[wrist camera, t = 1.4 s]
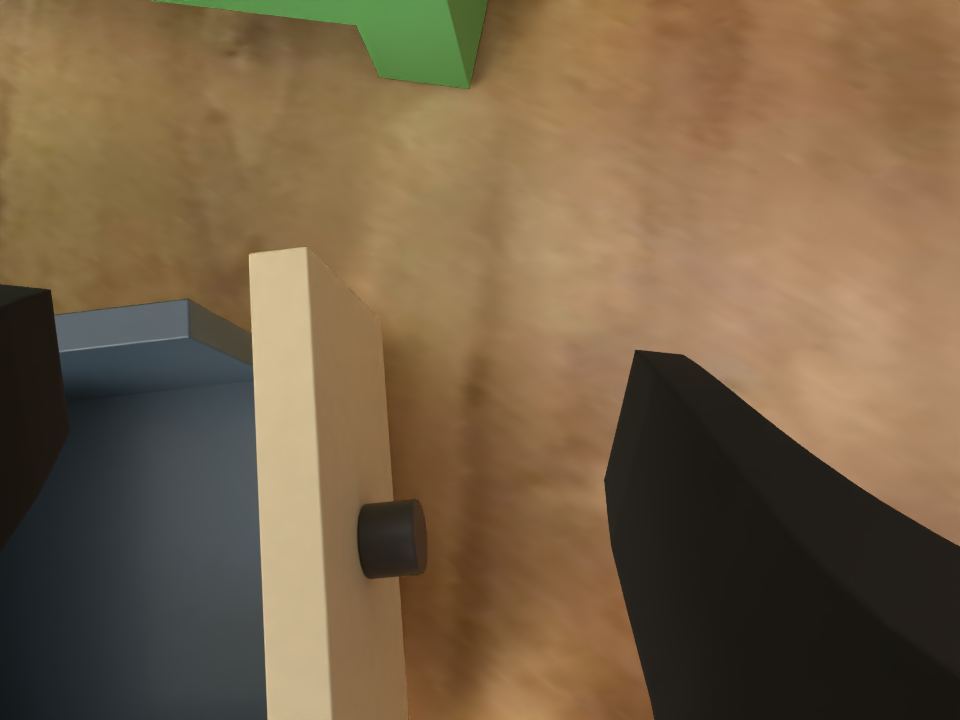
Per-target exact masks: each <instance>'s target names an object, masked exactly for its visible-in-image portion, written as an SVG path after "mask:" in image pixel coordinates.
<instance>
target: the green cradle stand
mask: <svg viewBox="0 0 960 720" xmlns="http://www.w3.org/2000/svg"><path fill="white" fill-rule="evenodd" d="M150 1H158V2H167V3H175V4H183V5H191V6H200V7H208V8H216V9H225V10H233V11H241V12H249V13H258V14H266V15H274V16H282V17H291V18H299V19H307V20H315V21H324V22H332V23H340V24H348V25H356V26H357V28H358V31H359V33H360V35H361V37H362V40H363V42H364V44H365V46H366V48H367V51H368V53H369V55H370V57H371V59H372V62H373V64H374V66H375V68H376V71H377V73H378V75H379V77H381V78H389V79H396V80H404V81H412V82H419V83H427V84H435V85H443V86H450V87H458V88H466V89H469V88H470V84H471V79H472V74H473V69H474V65H475V60H476V55H477V50H478V46H479V41H480V36H481V32H482V27H483V22H484V17H485V13H486V8H487V3H488V0H150Z"/></svg>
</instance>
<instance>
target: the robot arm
mask: <svg viewBox="0 0 960 720" xmlns="http://www.w3.org/2000/svg"><path fill="white" fill-rule="evenodd" d="M69 431H70V429H69V421H68V414H67V407H66V399H65V392H64V384H63V377H62V370H61V362H60V355H59V347H58V340H57V332H56V325H55V318H54V310H53V303H52V295H51V289H41V288H31V287H22V286H12V285H2V284H0V551H1V550H2V548H3V547H4V545H5V544H6V542H7V541H8V539H9V538H10V536H11V535H12V534H13V532H14V531H15V529H16V528H17V526H18V525H19V523H20V522H21V521H22V519H23V518H24V516H25V515H26V513H27V512H28V510H29V509H30V507H31V506H32V504H33V503H34V501H35V500H36V498H37V497H38V495H39V493H40V491H41V489H42V487H43V485H44V483H45V481H46V479H47V477H48V476H49V474H50V472H51V470H52V468H53V466H54V464H55V461H56V459H57V457H58V455H59V453H60V451H61V448H62V446H63V444H64V442H65V440H66V438H67V436H68V433H69ZM604 482H605V493H606V503H607V514H608V523H609V531H610V539H611V547H612V551H613V555H614V559H615V564H616V568H617V572H618V576H619V580H620V584H621V588H622V592H623V596H624V600H625V603H626V607H627V611H628V615H629V619H630V623H631V627H632V630H633V634H634V638H635V642H636V646H637V650H638V654H639V658H640V661H641V665H642V669H643V673H644V677H645V681H646V685H647V688H648V692H649V696H650V700H651V705H652V710H653V715H654V719H655V720H960V546H958V545H956V544H954V543H952V542H951V541H949V540H947V539H945V538H943V537H941V536H939V535H938V534H936V533H934V532H932V531H931V530H929V529H927V528H926V527H924V526H922V525H921V524H919V523H917V522H916V521H914V520H912V519H911V518H909V517H907V516H906V515H904V514H902V513H901V512H899V511H897V510H895V509H894V508H892V507H890V506H889V505H887V504H885V503H884V502H882V501H880V500H879V499H877V498H876V497H874V496H873V495H871V494H870V493H868V492H866V491H865V490H863V489H862V488H860V487H859V486H857V485H856V484H854V483H853V482H851V481H850V480H849V479H847V478H846V477H844V476H843V475H841V474H840V473H839V472H837V471H836V470H834V469H833V468H831V467H830V466H829V465H827V464H826V463H824V462H823V461H822V460H820V459H819V458H817V457H816V456H814V455H813V454H812V453H810V452H809V451H808V450H806V449H805V448H804V447H802V446H801V445H800V444H798V443H797V442H796V441H794V440H793V439H792V438H790V437H789V436H788V435H786V434H785V433H784V432H783V431H781V430H780V429H779V428H777V427H776V426H775V425H774V424H772V423H771V422H770V421H769V420H767V419H766V418H765V417H763V416H762V415H761V414H760V413H758V412H757V411H756V410H755V409H753V408H752V407H751V406H750V405H748V404H747V403H746V402H745V401H744V400H742V399H741V398H740V397H739V396H737V395H736V394H735V393H734V392H732V391H731V390H730V389H729V388H727V387H726V386H725V385H724V384H722V383H721V382H720V381H719V380H717V379H716V378H715V377H714V376H712V375H711V374H710V373H709V372H707V371H706V370H705V369H703V368H702V367H701V366H699V365H698V364H696V363H695V362H694V361H692V360H691V359H689V358H687V357H686V356H684V355H681V354H671V353H661V352H652V351H642V350H635V354H634V358H633V362H632V366H631V370H630V375H629V379H628V383H627V387H626V391H625V396H624V400H623V404H622V408H621V412H620V416H619V421H618V425H617V429H616V433H615V437H614V442H613V446H612V450H611V454H610V458H609V462H608V467H607V471H606V475H605V479H604Z"/></svg>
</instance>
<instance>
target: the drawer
mask: <svg viewBox="0 0 960 720" xmlns="http://www.w3.org/2000/svg"><path fill="white" fill-rule="evenodd" d="M249 276H250V301H251V326H252V334H251V333H249V332H248V331H246V330H244V329H242V328H240V327H238V326H237V325H235V324H233V323H231V322H229V321H228V320H226V319H224V318H222V317H220V316H219V315H217V314H215V313H213V312H211V311H210V310H208V309H206V308H204V307H202V306H201V305H199V304H197V303H195V302H193V301H191V300H190V299H181V300H173V301H164V302H156V303H148V304H140V305H131V306H123V307H115V308H106V309H98V310H90V311H81V312H73V313H65V314H56V315H54V318H55V325H56V332H57V340H58V347H59V355H60V362H61V370H62V377H63V384H64V392H65V399H66V407H67V414H68V421H69V429H70V431H69V433H68V436H67V438H66V440H65V442H64V444H63V446H62V448H61V451H60V453H59V455H58V457H57V459H56V461H55V464H54V466H53V468H52V470H51V472H50V474H49V476H48V477H47V479H46V481H45V483H44V485H43V487H42V489H41V491H40V493H39V495H38V497H37V498H36V500H35V501H34V503H33V504H32V506H31V507H30V509H29V510H28V512H27V513H26V515H25V516H24V518H23V519H22V521H21V522H20V523H19V525H18V526H17V528H16V529H15V531H14V532H13V534H12V535H11V536H10V538H9V539H8V541H7V542H6V544H5V545H4V547H3V548H2V550H1V551H0V720H409V714H408V700H407V686H406V671H405V657H404V643H403V629H402V614H401V600H400V586H399V577H401V576H413V575H421V574H423V573H424V571H425V568H426V564H427V532H426V524H425V518H424V513H423V509H422V506H421V504H420V502H419V501H418V500H416V499H411V500H400V501H394V500H393V486H392V472H391V458H390V443H389V429H388V415H387V400H386V386H385V372H384V358H383V343H382V329H381V319H380V318H379V317H378V316H377V315H376V314H375V313H374V312H373V311H372V310H371V309H370V308H369V307H368V306H367V305H366V304H365V303H364V302H363V301H362V300H361V299H360V298H359V297H358V296H357V295H356V294H355V293H354V292H353V291H352V290H351V289H350V288H349V287H348V286H347V285H346V284H345V283H344V282H343V281H342V280H341V279H340V278H339V277H338V276H337V275H336V274H335V273H334V272H333V271H331V270H330V269H329V268H328V267H327V266H326V265H325V264H324V263H323V262H322V261H321V260H320V259H319V258H318V257H317V256H316V255H315V254H314V253H313V252H312V251H311V250H310V249H309V248H308V247H306V246H305V247H297V248H289V249H281V250H273V251H265V252H257V253H250V254H249Z"/></svg>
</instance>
